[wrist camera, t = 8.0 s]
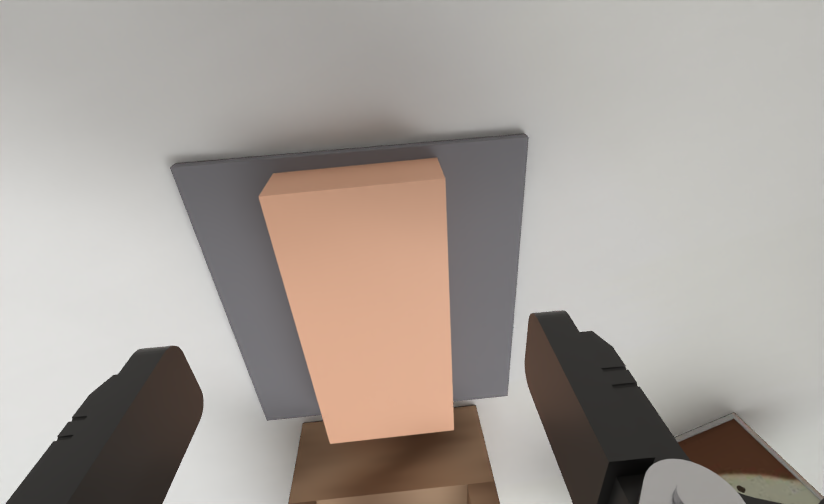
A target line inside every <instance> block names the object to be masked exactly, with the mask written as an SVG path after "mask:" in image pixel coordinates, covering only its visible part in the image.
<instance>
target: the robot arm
mask: <svg viewBox="0 0 824 504" xmlns="http://www.w3.org/2000/svg"><path fill="white" fill-rule="evenodd" d="M525 374H526V379H527V384H528V387H529V390H530V393H531V395H532V398H533V400H534V403H535V406H536V408H537V411H538V413H539V416H540V419H541V421H542V424H543V426H544V429H545V432H546V434H547V437H548V439H549V442H550V445H551V447H552V450H553V453H554V455H555V458H556V460H557V463H558V466H559V468H560V471H561V473H562V476H563V479H564V481H565V484H566V486H567V489H568V492H569V494H570V497H571V499H572V502H573V504H782V503H778V502H773V501H768V500H764V499H759V498H754V497H751V496H747V495H744V494H741V493H738V492H737V491H736V490H735V489H734V488H733V487H732V486H731V485H730V484H729V483H728V482H726V481H725V480H724V479H723V478H721V477H720V476H719V475H717V474H716V473H714V472H712V471H711V470H709V469H707V468H705V467H703V466H701V465H699V464H696V463H693V462H692V461H691V460H690V459H689V458H688V456H687V455H686V454H685V452H684V451H683V450H682V448H681V447H680V445H679V444H678V442H677V441H676V439H675V438H674V436H673V435H672V433H671V432H670V430H669V429H668V428H667V426H666V425H665V423H664V422H663V420H662V419H661V417H660V416H659V414H658V413H657V411H656V410H655V408H654V407H653V406H652V404H651V403H650V401H649V400H648V398H647V397H646V395H645V394H644V392H643V391H642V389H641V388H640V387H638V386H637V382H636V381H635V379H634V378H633V376H632V375H631V373H630V372H629V370H626V367H625V364H624V363H623V361H622V360H621V359H620V357H619V356H618V354H617V353H616V351H615V350H614V348H613V347H612V346H611V345H610V344H608V343H607V342H606V341H604V340H603V339H602V338H600V337H599V336H598V335H597V334H595V333H594V332H593V331H587V332H579V331H578V329H577V327H576V326H575V324H574V323H573V321H572V319H571V318H570V316H569V314H568V313H567V312H566V311H563V310H562V311H552V312H541V313H532V314H530V316H529V321H528V332H527V343H526V353H525ZM202 412H203V394H202V391H201V389H200V387H199V385H198V383H197V380H196V378H195V376H194V374H193V372H192V370H191V368H190V366H189V364H188V362H187V360H186V358H185V356H184V353H183V352H182V350H181V349H180V348H179V347H177V346H166V347H155V348H144V349H139V350H137V351H136V352H135V353H134V354H133V355H132V356H131V357H130V359H129V360H128V362H127V363H126V364H125V366H124V367H123V368H122V370H121V371H120V372H119V374H118V375H113V376H112V377H110V378H109V379H108V380H107V381H106V382H104V383H103V384H102V385H101V386H100V387H98V388H97V389H96V390H95V391H93V392H92V393H91V394H90V395H89V396H88V397H87V399H86V400H85V401H84V403H83V404H82V405H81V406H80V408H79V409H78V410H77V412H76V413H75V414H74V415H73V417H72V421H71V422H68V423H67V425H66V426H65V427H64V428H63V430H62V431H61V432H60V434H59V435H58V436H57V437H58V440H57V441H53V443H52V444H51V445H50V447H49V448H48V449H47V451H46V452H45V453H44V454H43V456H42V457H41V458H40V460H39V461H38V462H37V464H36V465H35V466H34V467H33V469H32V470H31V471H30V473H29V474H28V475H27V477H26V478H25V479H24V480H23V482H22V483H21V484H20V486H19V487H18V488H17V490H16V491H15V492H14V493H13V495H12V496H11V497H10V499H9V500H8V501H7V502H6V504H162V503H163V501H164V499H165V497H166V494H167V492H168V490H169V488H170V486H171V483H172V481H173V479H174V477H175V474H176V472H177V470H178V468H179V466H180V463H181V461H182V459H183V457H184V455H185V452H186V450H187V448H188V446H189V443H190V441H191V439H192V437H193V435H194V432H195V430H196V428H197V426H198V424H199V421H200V419H201V416H202ZM818 504H824V498H823V499H822V500H821V501H820V502H819V503H818Z"/></svg>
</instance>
